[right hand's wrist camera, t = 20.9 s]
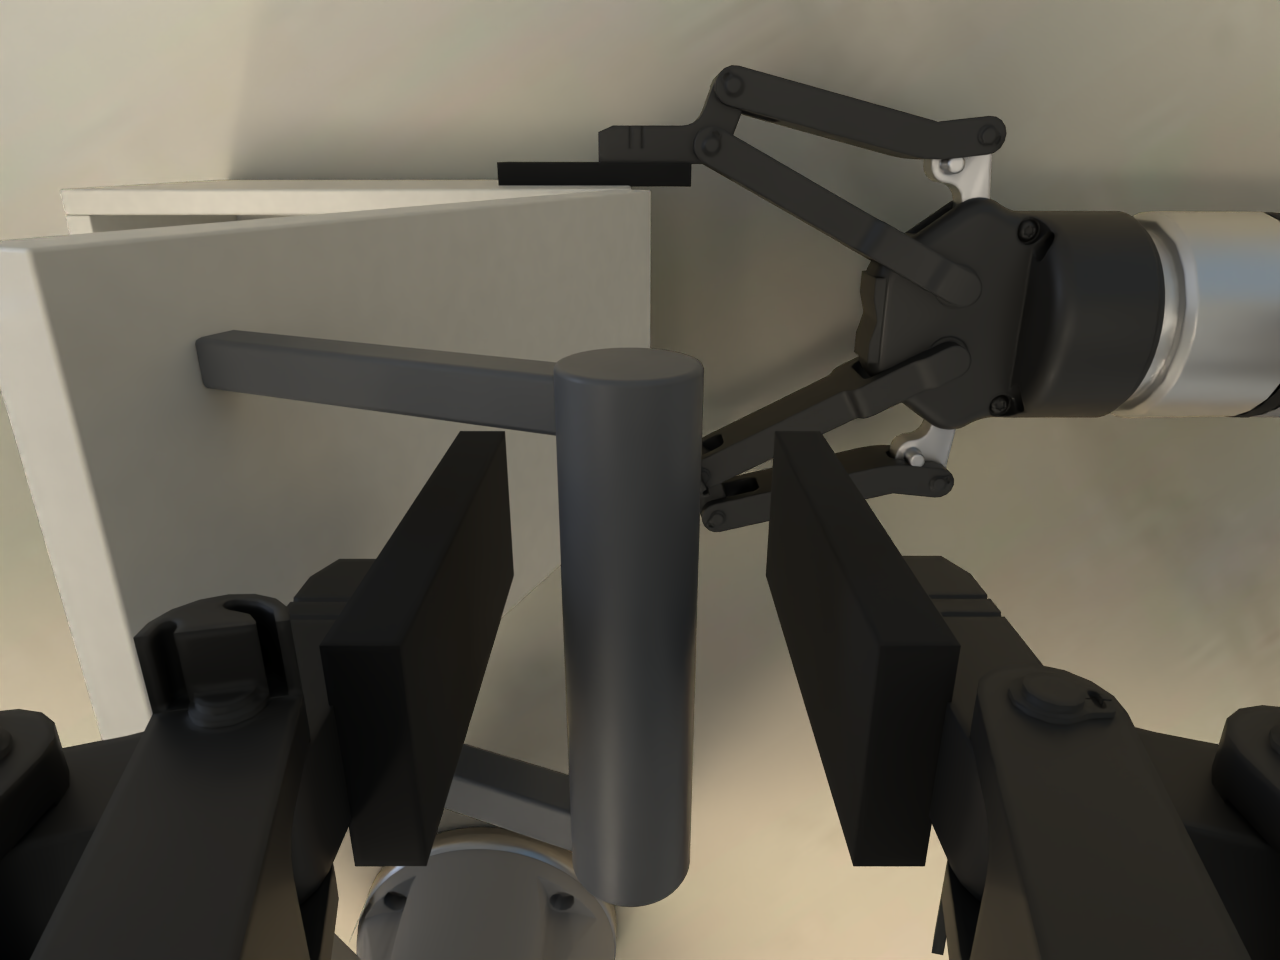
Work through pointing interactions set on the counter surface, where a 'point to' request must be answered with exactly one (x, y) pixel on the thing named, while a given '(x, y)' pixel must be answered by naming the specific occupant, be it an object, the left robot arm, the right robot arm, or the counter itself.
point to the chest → (270, 200)
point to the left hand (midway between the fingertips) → (512, 316)
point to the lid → (383, 459)
